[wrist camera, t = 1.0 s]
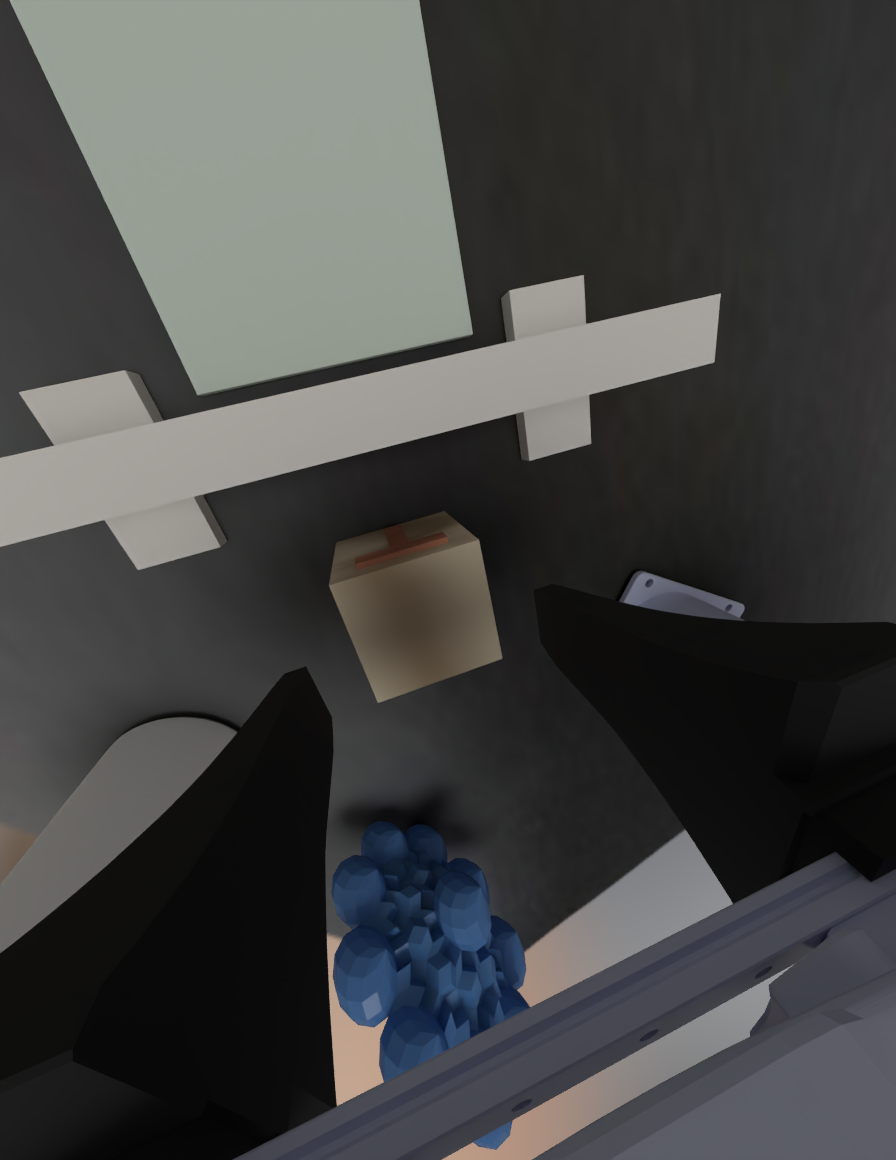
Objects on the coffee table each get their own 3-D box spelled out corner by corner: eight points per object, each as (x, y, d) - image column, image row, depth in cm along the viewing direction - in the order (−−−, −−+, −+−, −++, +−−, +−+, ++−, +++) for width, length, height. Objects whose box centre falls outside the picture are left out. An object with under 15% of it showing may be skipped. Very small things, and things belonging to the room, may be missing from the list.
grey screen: (582, 281, 14) (730, 180, 8) (590, 440, 16) (707, 442, 11) (23, 398, 11) (-288, 363, 6) (136, 566, 14) (-7, 651, 8)
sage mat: (396, -105, 9) (398, -128, 9) (469, 336, 13) (472, 334, 13) (-26, -87, 8) (-44, -111, 8) (202, 396, 12) (197, 395, 12)
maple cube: (442, 506, 16) (477, 534, 11) (465, 603, 18) (502, 658, 14) (334, 537, 15) (326, 580, 11) (371, 634, 17) (377, 702, 13)
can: (112, 812, 17) (-276, 1414, 7) (102, 709, 15) (-480, 1338, 5) (255, 803, 19) (133, 1257, 9) (263, 711, 17) (115, 1157, 7)
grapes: (516, 798, 25) (638, 1071, 14) (463, 860, 26) (539, 1154, 16) (372, 760, 20) (393, 1123, 10) (317, 837, 22) (281, 1235, 11)
